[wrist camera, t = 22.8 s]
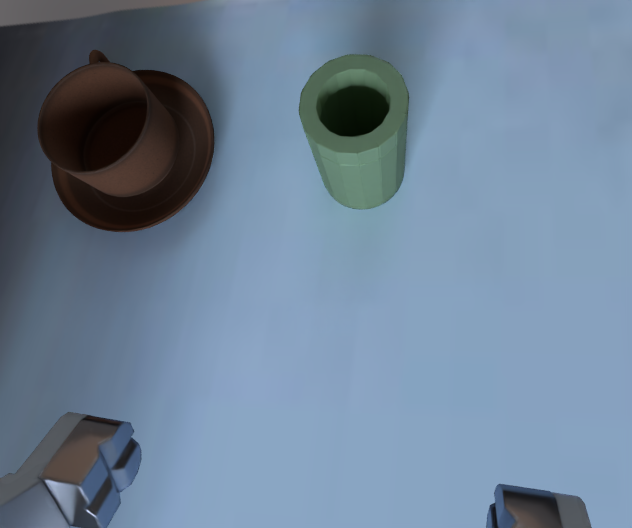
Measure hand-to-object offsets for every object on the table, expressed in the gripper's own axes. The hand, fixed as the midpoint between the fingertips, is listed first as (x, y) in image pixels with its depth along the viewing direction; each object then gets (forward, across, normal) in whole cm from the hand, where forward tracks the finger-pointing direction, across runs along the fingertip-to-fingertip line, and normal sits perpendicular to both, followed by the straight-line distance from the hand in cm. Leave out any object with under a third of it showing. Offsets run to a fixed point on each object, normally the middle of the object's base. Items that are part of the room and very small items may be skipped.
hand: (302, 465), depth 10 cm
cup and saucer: (+24, +17, +3) cm, 29 cm away
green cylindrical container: (+24, +1, +3) cm, 24 cm away
